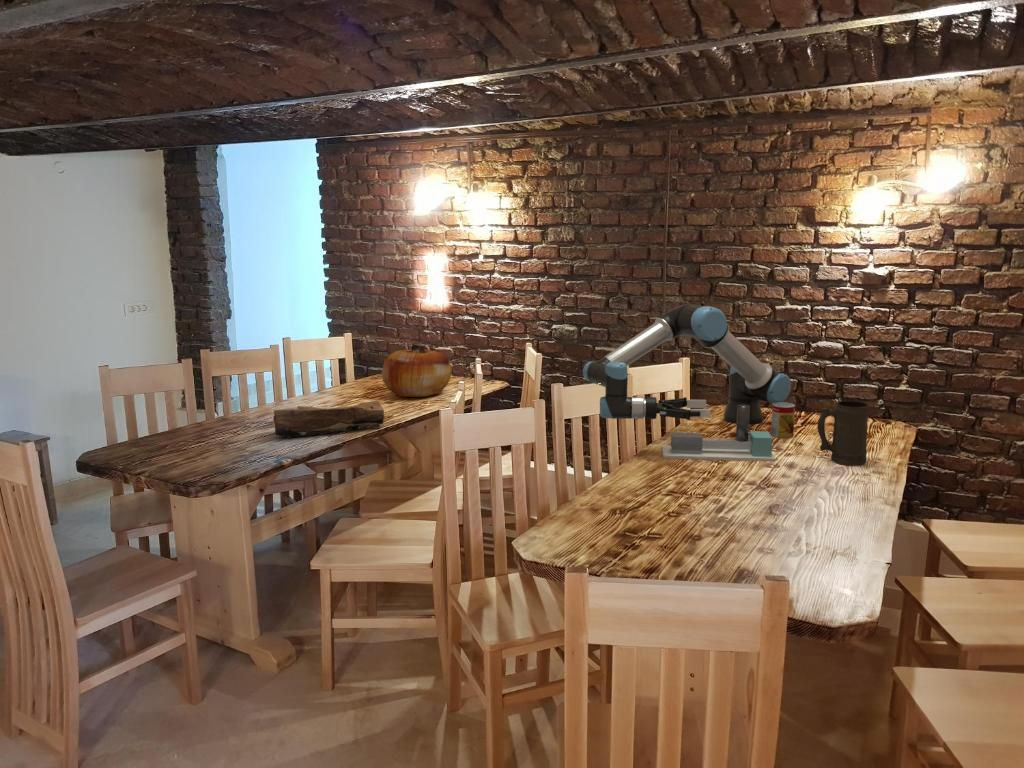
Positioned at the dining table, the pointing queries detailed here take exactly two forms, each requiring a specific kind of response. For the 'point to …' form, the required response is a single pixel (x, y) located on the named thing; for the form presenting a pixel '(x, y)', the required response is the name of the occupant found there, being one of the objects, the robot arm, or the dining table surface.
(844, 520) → the dining table surface
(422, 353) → the pumpkin
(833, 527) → the dining table surface
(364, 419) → the log
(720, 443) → the grey black upright frame
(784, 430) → the canned food
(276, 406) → the dining table surface
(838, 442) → the beer stein
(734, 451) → the baseboard
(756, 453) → the socket
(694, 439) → the sleeve
